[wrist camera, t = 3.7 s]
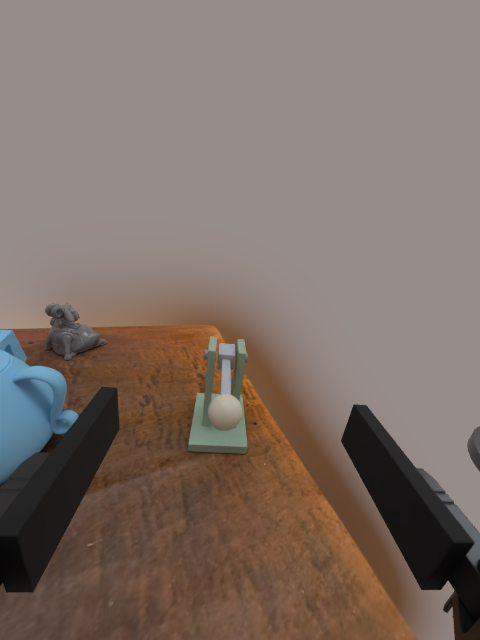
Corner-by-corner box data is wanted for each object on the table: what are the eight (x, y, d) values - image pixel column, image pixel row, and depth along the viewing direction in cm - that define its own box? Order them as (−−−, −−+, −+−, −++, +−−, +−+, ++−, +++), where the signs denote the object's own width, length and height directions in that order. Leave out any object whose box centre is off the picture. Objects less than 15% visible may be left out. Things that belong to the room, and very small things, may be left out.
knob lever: (240, 439, 25) (245, 414, 24) (205, 437, 25) (207, 412, 23) (236, 361, 37) (239, 341, 35) (212, 359, 37) (214, 338, 35)
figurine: (110, 344, 58) (108, 300, 54) (66, 361, 49) (59, 311, 46) (87, 334, 61) (83, 292, 57) (41, 348, 52) (33, 300, 49)
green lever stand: (246, 454, 34) (261, 368, 29) (187, 451, 33) (193, 363, 29) (241, 401, 44) (251, 331, 40) (196, 398, 44) (201, 327, 39)
